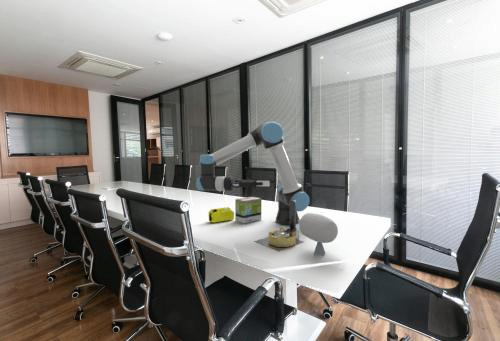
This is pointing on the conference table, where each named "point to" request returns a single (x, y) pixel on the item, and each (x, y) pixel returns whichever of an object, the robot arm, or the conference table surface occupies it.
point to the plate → (266, 241)
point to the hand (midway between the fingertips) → (269, 183)
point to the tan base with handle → (283, 240)
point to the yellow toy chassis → (220, 214)
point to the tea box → (247, 209)
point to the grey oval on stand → (318, 230)
